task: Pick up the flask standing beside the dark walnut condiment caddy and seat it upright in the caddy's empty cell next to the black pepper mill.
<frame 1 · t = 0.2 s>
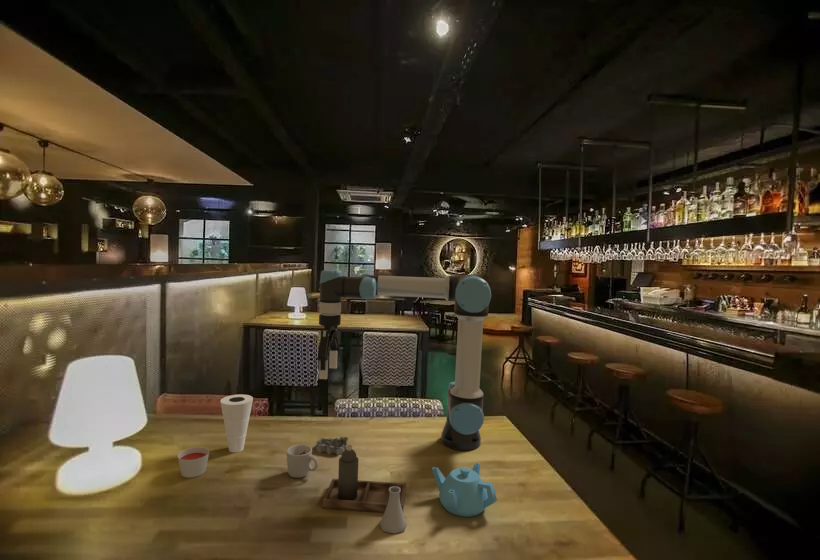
hand: (328, 373, 156), 28 cm above the table, fingers open, 13 cm apart
flask: (393, 526, 116), on the table
cup: (302, 475, 140), on the table
caddy: (365, 499, 127), on the table
candle: (193, 473, 138), on the table
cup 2: (236, 449, 155), on the table
pepper mill: (347, 496, 128), point 1 cm above the table, touching caddy
teapot: (462, 505, 127), on the table
egg carton: (331, 450, 158), on the table
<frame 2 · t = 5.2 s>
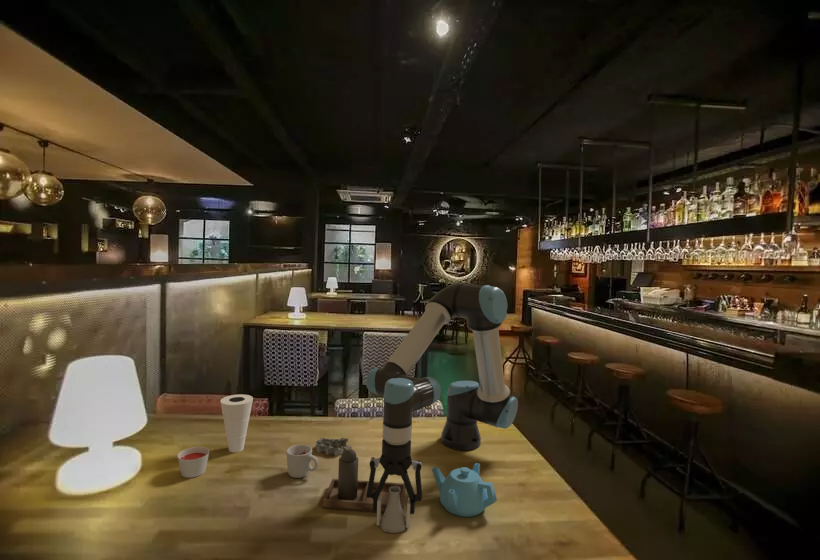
hand: (393, 523, 116), 1 cm above the table, fingers closed on flask, 7 cm apart
flask: (393, 526, 116), on the table, touching gripper
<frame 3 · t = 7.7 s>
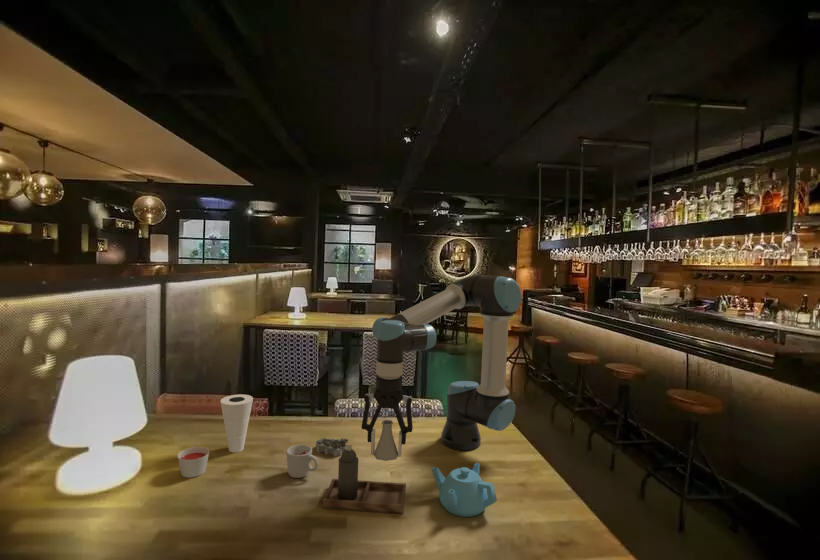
hand: (386, 453, 126), 14 cm above the table, fingers closed on flask, 7 cm apart
flask: (386, 456, 126), point 13 cm above the table, touching gripper
everything else where it was.
when the fingers open (4 cm above the table, at t = 10.2 s): flask drops 2 cm, resting on caddy.
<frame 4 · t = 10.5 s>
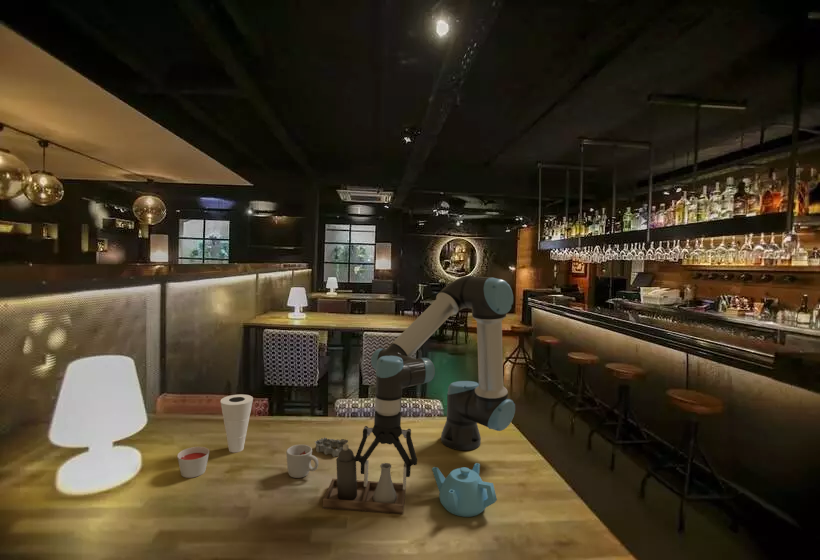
hand: (385, 485, 127), 5 cm above the table, fingers open, 10 cm apart
flask: (384, 499, 127), resting on caddy
pepper mill: (347, 495, 128), point 1 cm above the table, touching caddy, gripper
everything else where it was.
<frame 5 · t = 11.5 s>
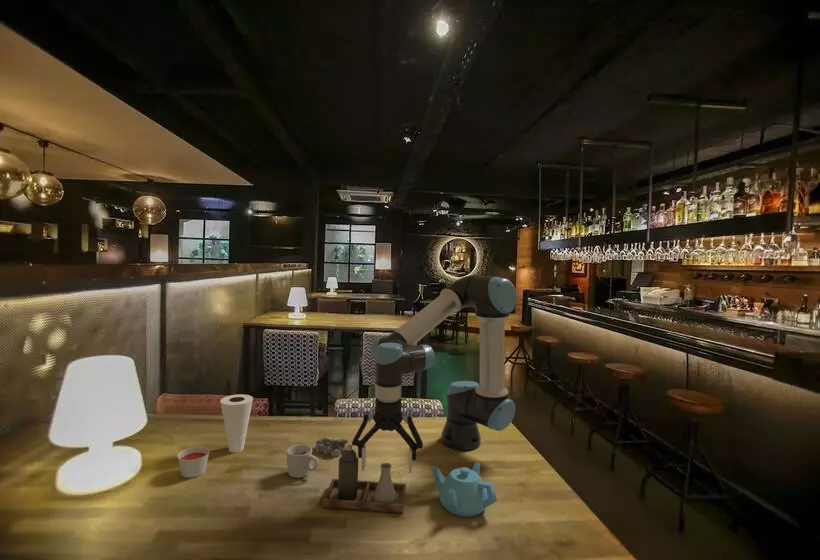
hand: (386, 469, 127), 9 cm above the table, fingers open, 13 cm apart
pepper mill: (347, 496, 128), point 1 cm above the table, touching caddy
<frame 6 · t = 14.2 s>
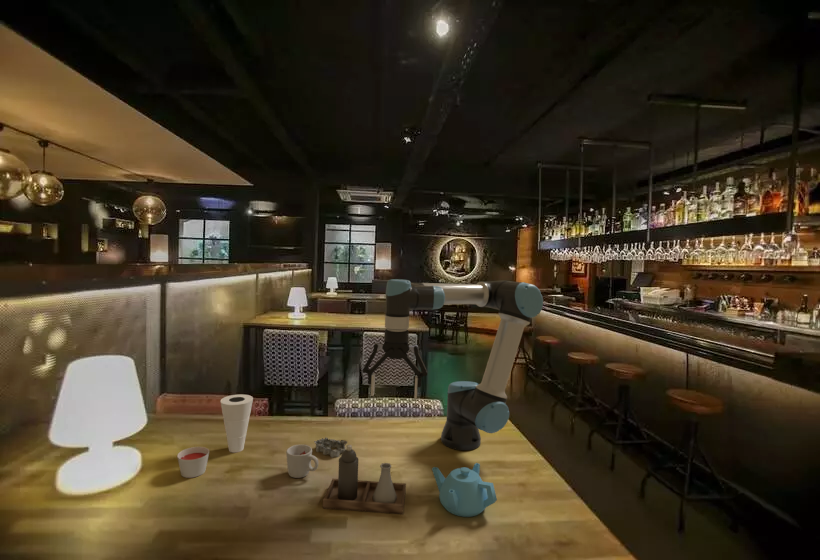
hand: (394, 395, 138), 27 cm above the table, fingers open, 13 cm apart
at the end: flask inside the target area on the caddy (0.1 cm from its centre), point 0.4 cm above the caddy's base; flask tilted 0°; the gripper is holding nothing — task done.
